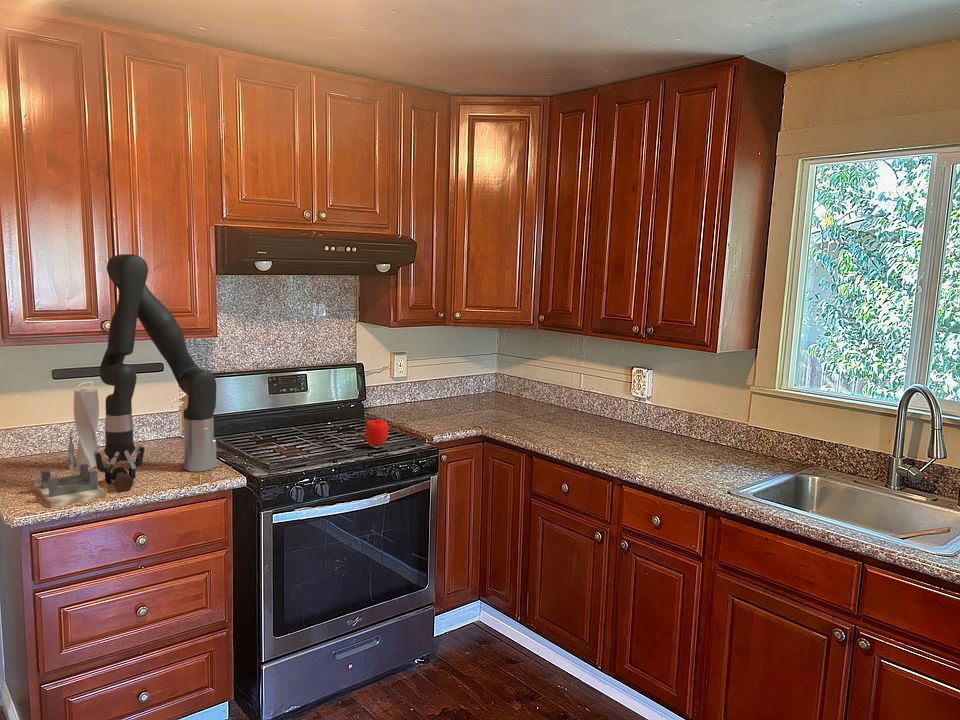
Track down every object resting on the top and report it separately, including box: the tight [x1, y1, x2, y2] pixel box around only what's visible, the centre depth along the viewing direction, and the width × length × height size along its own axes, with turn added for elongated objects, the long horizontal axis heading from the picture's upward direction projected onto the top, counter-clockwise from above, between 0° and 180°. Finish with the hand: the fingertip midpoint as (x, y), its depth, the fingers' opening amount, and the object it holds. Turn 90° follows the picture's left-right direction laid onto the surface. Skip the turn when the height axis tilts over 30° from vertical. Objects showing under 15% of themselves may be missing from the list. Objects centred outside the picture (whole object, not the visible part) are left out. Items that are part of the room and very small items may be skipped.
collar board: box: [33, 482, 107, 508], centre depth 205 cm, size 14×20×2 cm
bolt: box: [111, 466, 135, 493], centre depth 214 cm, size 6×5×15 cm
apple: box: [364, 419, 389, 445], centre depth 268 cm, size 9×9×11 cm
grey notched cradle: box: [40, 464, 99, 497], centre depth 205 cm, size 12×11×5 cm
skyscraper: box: [67, 381, 100, 471], centre depth 229 cm, size 8×8×28 cm
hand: (120, 481), depth 214 cm, fingers closed on bolt, 5 cm apart
